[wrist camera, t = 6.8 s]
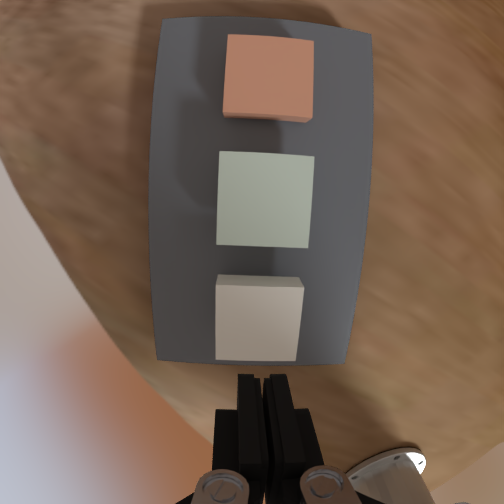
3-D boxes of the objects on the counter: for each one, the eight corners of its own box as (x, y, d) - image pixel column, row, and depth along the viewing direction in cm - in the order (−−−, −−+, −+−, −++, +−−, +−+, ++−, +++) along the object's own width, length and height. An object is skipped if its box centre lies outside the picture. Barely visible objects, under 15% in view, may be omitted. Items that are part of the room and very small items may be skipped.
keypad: (334, 344, 25) (344, 363, 22) (165, 340, 25) (157, 359, 22) (357, 48, 20) (371, 34, 17) (171, 35, 19) (162, 19, 16)
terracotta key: (305, 122, 18) (312, 118, 16) (224, 117, 17) (222, 112, 16) (307, 51, 16) (313, 40, 15) (228, 45, 16) (227, 34, 14)
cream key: (291, 346, 20) (295, 360, 18) (217, 344, 20) (215, 359, 18) (298, 276, 19) (304, 287, 17) (218, 274, 19) (215, 284, 17)
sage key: (301, 240, 18) (308, 248, 17) (218, 237, 18) (216, 244, 17) (307, 157, 17) (314, 156, 16) (221, 153, 17) (219, 150, 15)
